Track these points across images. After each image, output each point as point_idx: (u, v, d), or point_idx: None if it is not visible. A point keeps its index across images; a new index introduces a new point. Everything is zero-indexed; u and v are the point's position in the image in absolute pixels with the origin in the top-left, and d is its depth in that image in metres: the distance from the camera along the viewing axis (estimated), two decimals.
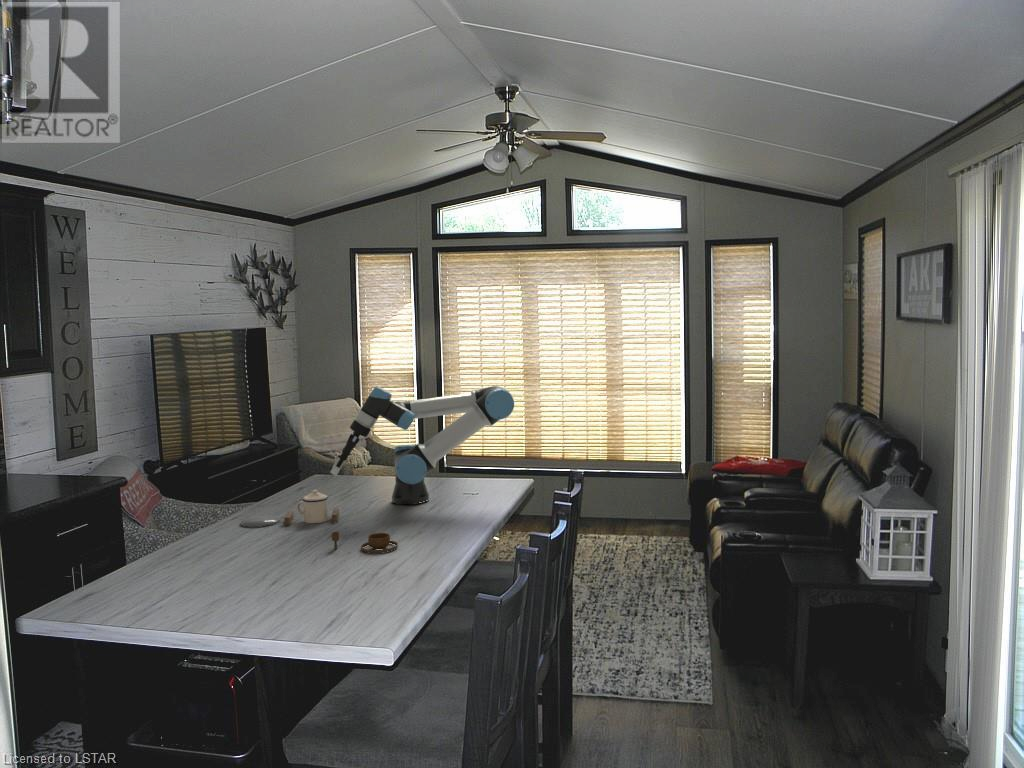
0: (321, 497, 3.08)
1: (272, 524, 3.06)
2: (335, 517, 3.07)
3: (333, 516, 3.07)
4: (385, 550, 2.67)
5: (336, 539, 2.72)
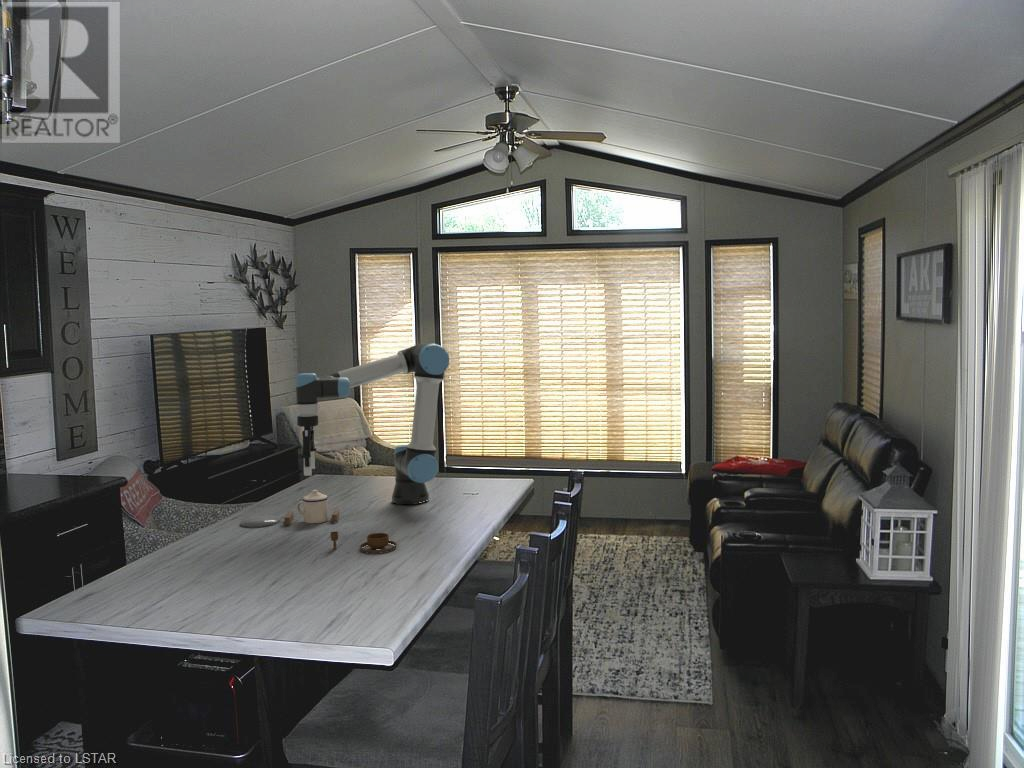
0: (321, 497, 3.08)
1: (272, 524, 3.06)
2: (335, 517, 3.07)
3: (333, 516, 3.07)
4: (383, 550, 2.67)
5: (335, 539, 2.72)
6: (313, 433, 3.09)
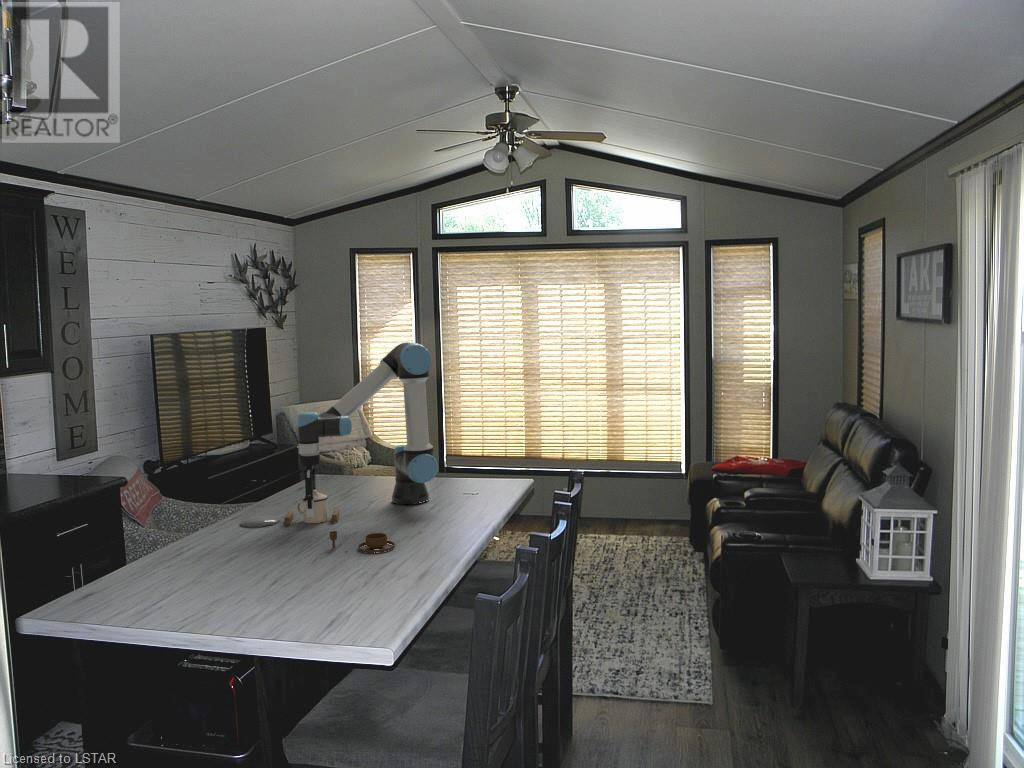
0: (321, 497, 3.08)
1: (272, 524, 3.06)
2: (335, 517, 3.07)
3: (333, 516, 3.07)
4: (381, 550, 2.67)
5: (334, 538, 2.73)
6: (315, 472, 3.10)
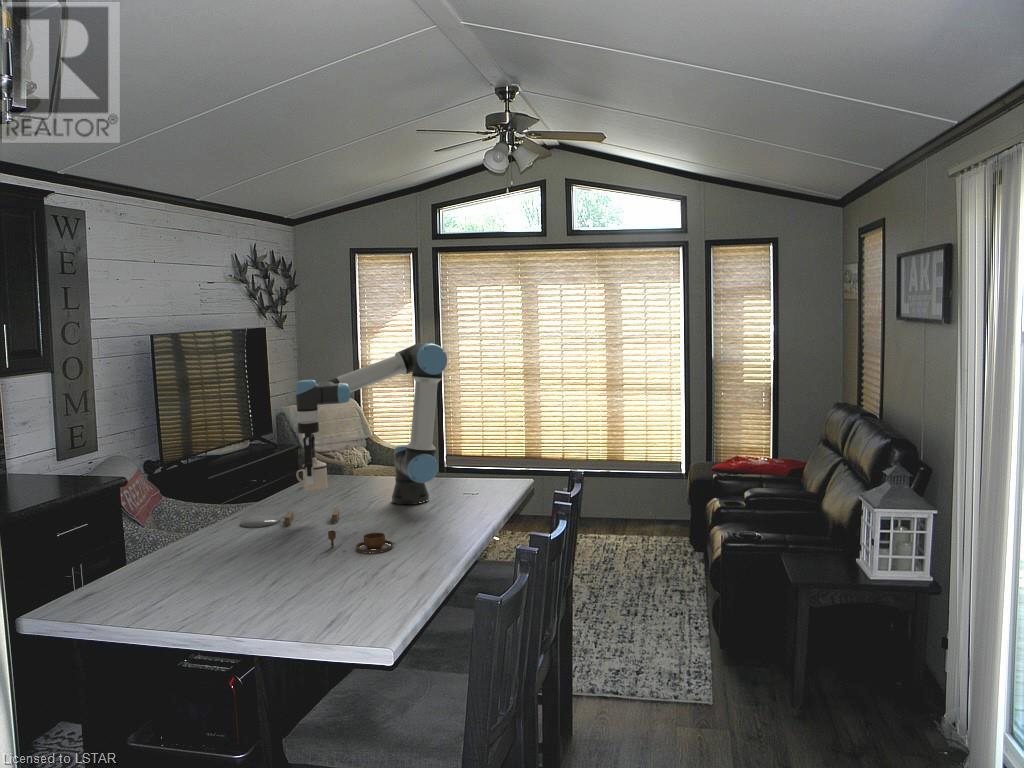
0: (320, 465, 3.07)
1: (272, 524, 3.06)
2: (335, 517, 3.07)
3: (333, 516, 3.07)
4: (379, 550, 2.67)
5: (332, 538, 2.73)
6: (314, 439, 3.10)
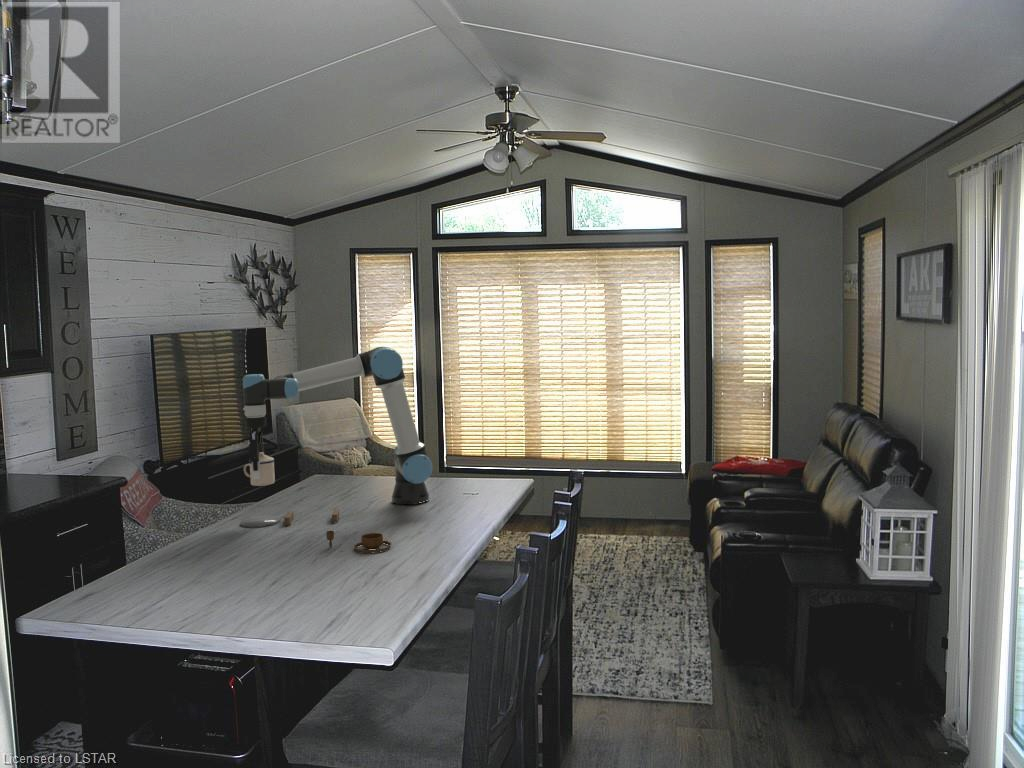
0: (267, 459, 3.06)
1: (272, 524, 3.06)
2: (335, 517, 3.07)
3: (333, 516, 3.07)
4: (376, 550, 2.67)
5: (331, 538, 2.74)
6: (261, 434, 3.09)
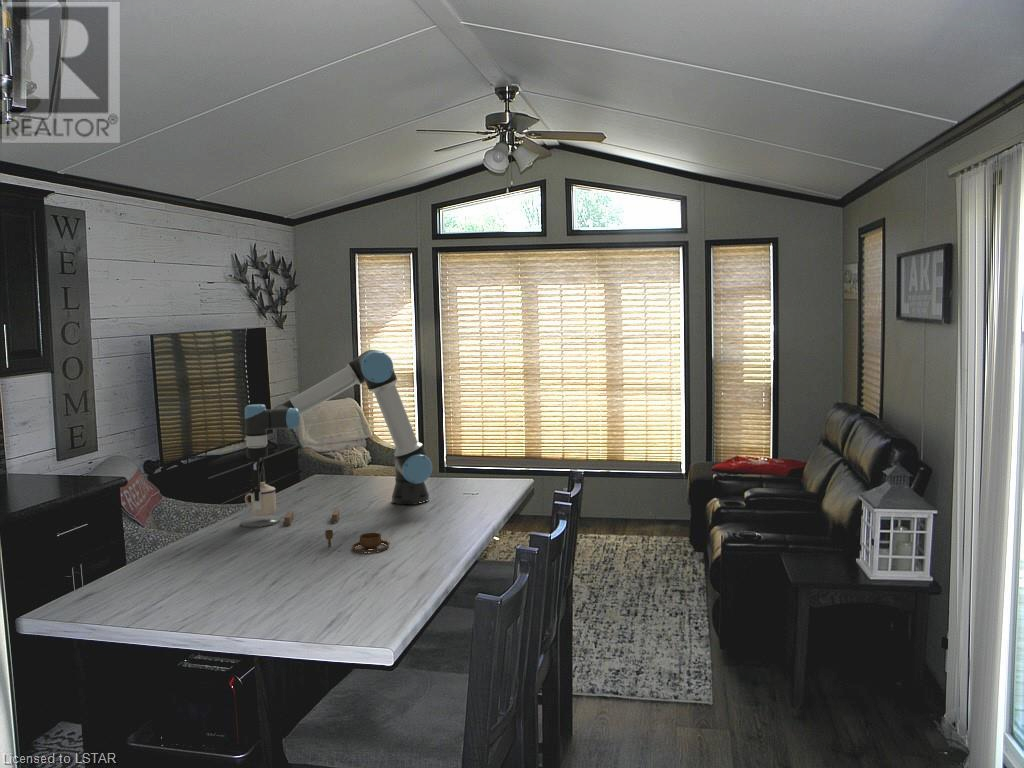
0: (268, 489, 3.07)
1: (272, 524, 3.06)
2: (335, 517, 3.07)
3: (333, 516, 3.07)
4: (373, 550, 2.67)
5: (329, 537, 2.74)
6: (263, 464, 3.09)
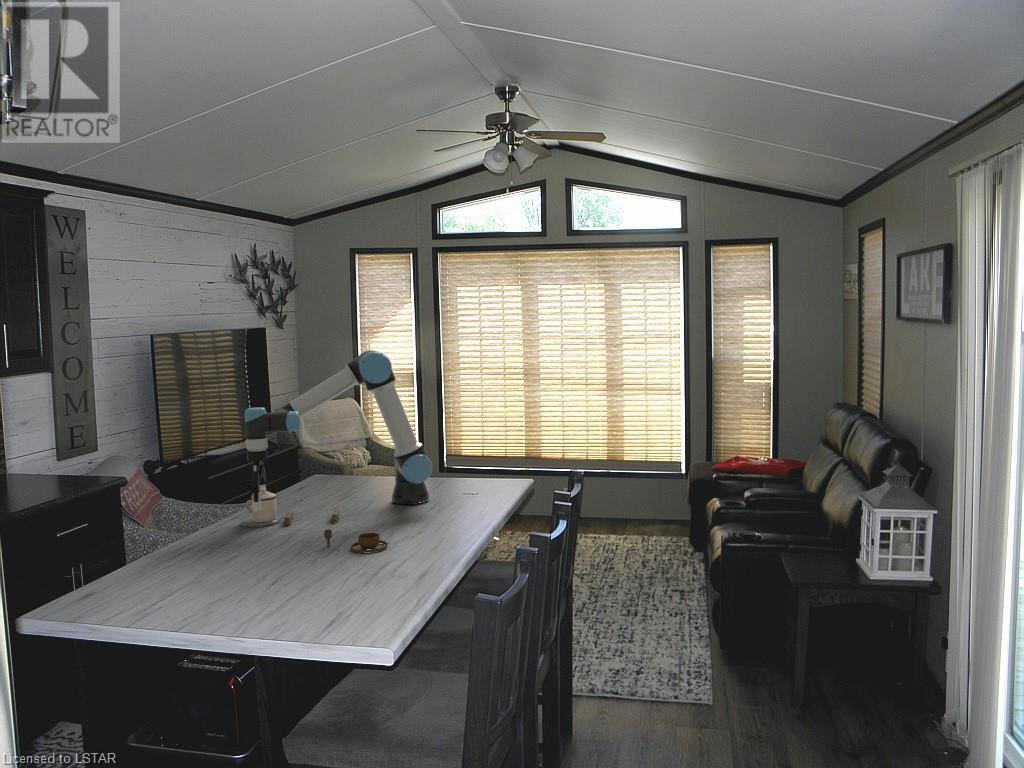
0: (269, 496, 3.07)
1: (272, 524, 3.06)
2: (335, 517, 3.07)
3: (333, 516, 3.07)
4: (372, 550, 2.67)
5: (328, 537, 2.75)
6: (263, 467, 3.10)
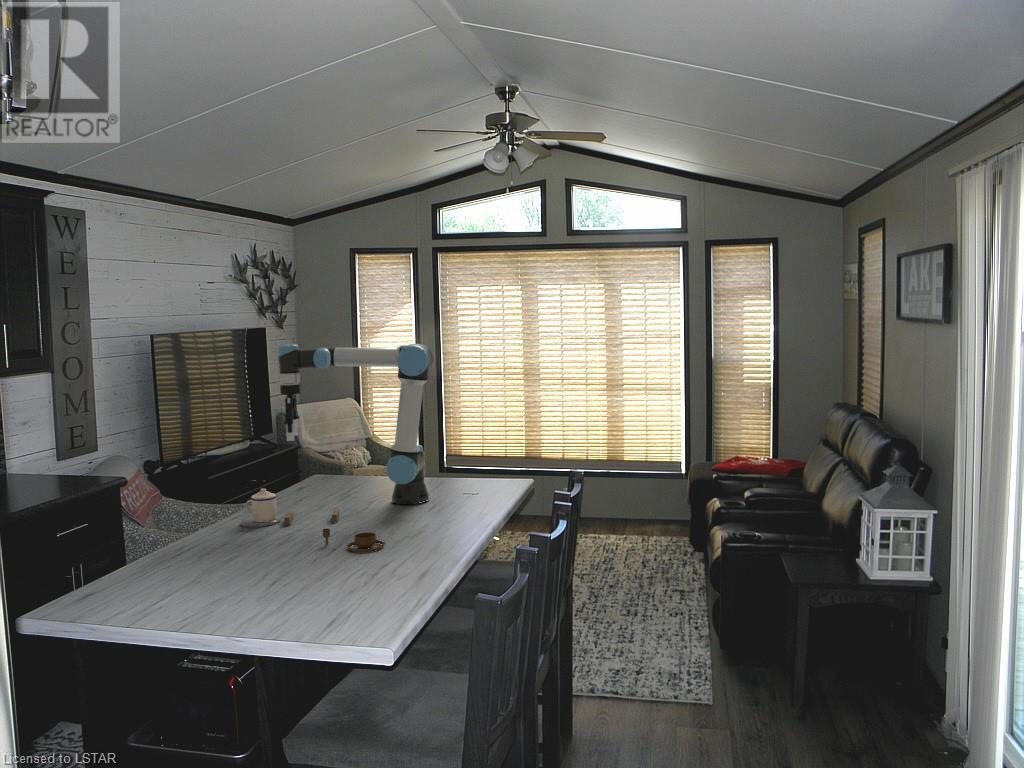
0: (269, 496, 3.07)
1: (272, 524, 3.06)
2: (335, 517, 3.07)
3: (333, 516, 3.07)
4: (366, 550, 2.67)
5: (326, 536, 2.76)
6: (295, 401, 3.26)
